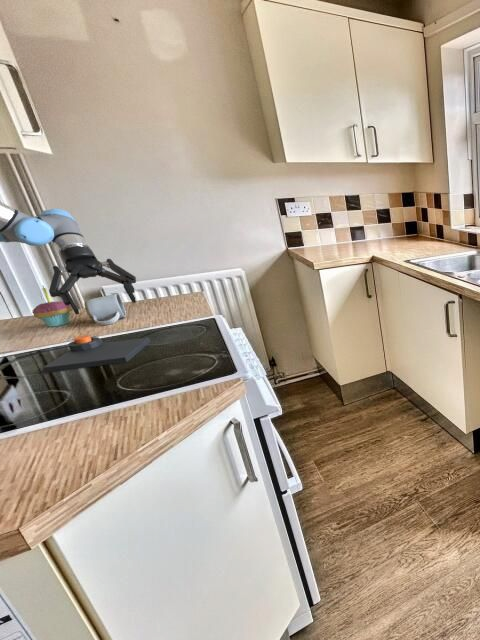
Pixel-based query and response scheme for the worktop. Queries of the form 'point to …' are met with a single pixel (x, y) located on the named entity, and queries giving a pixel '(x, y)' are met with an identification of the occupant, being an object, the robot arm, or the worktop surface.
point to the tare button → (82, 339)
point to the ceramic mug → (105, 309)
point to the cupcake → (52, 312)
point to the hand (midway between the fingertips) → (106, 306)
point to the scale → (97, 354)
